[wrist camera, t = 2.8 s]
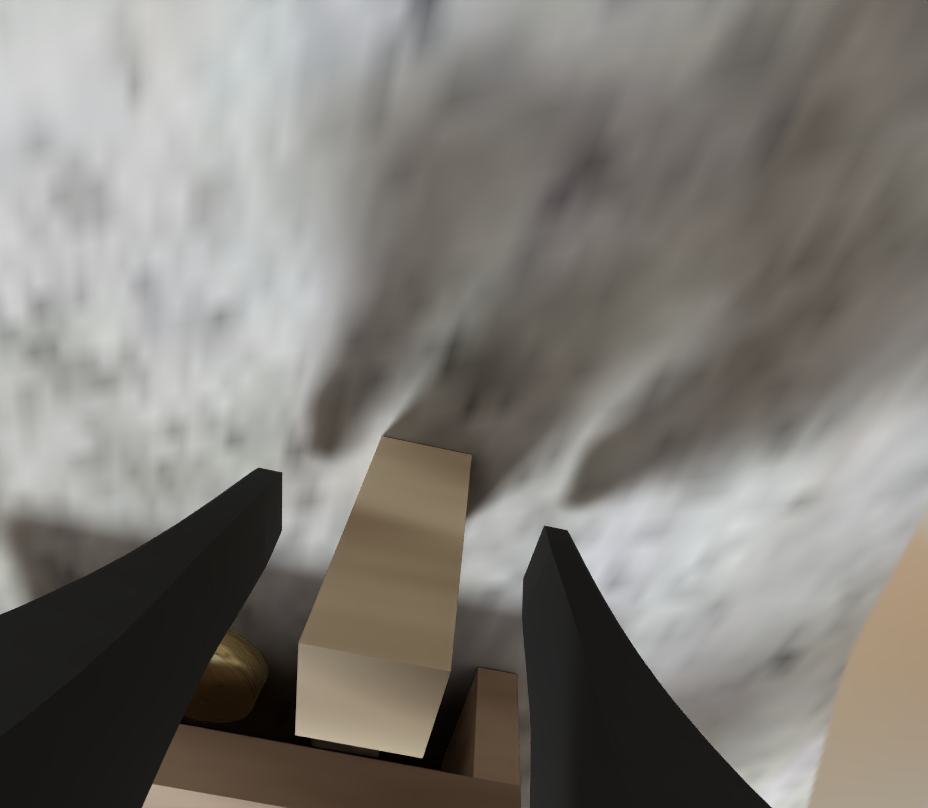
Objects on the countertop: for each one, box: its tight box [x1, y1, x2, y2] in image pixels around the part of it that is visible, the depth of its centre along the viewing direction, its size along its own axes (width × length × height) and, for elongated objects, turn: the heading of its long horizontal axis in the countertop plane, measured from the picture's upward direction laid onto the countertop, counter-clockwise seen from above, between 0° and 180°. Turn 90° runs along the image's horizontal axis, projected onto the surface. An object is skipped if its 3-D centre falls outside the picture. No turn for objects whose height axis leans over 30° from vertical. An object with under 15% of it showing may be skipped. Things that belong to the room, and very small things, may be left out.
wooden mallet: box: [295, 436, 472, 758], centre depth 13 cm, size 13×3×6 cm, turn 168°
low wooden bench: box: [142, 667, 521, 808], centre depth 18 cm, size 10×20×5 cm, turn 78°
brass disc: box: [183, 630, 268, 723], centre depth 18 cm, size 5×5×1 cm
